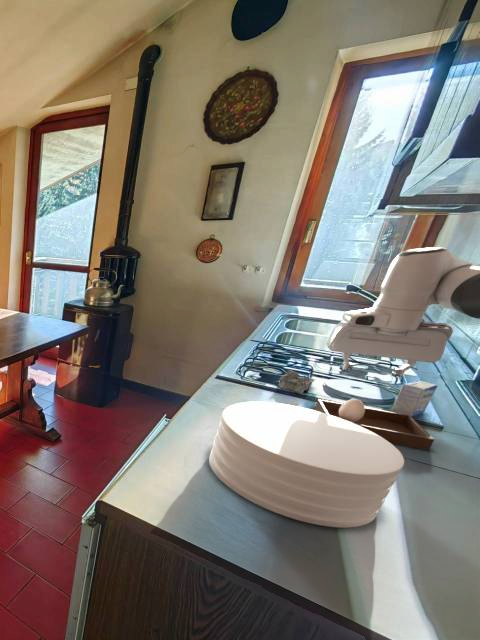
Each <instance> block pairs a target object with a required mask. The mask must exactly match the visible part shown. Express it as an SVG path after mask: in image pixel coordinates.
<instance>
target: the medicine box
mask: <svg viewBox="0 0 480 640" xmlns="http://www.w3.org/2000/svg"><path fill="white" fill-rule="evenodd" d="M437 388H438V385H437V384H435V383H430V382H427V381H422V380H414V381H410V382H408V383H405V384H402V386H401V388H400V390H399V393H398V394H397V397H396V399H395V401H394V403H393V405H392V408H391V410H390V412H394V413H400V414H405V415H410V416H411V417H412V418H414V417H415V416H419V415H420V414H423V413H425V411H426V409H427V407H428V405H429V404H430V402H431V401H432V398H433V396H434V394H435V392H436V391H437Z"/></svg>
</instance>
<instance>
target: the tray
mask: <svg viewBox="0 0 480 640" xmlns="http://www.w3.org/2000/svg"><path fill="white" fill-rule="evenodd" d="M315 403H316V404H315V406H314V408H313V410H315V411H319V412H322V413H326V414H329V415H332V416H335V417H338V418H340V416H339V409H340V407H341V405H342V404H343V403H341V402H336V401H332V400H331V401H330V400H326V399H325V400H324V399H320V398H319V399H317V401H316V402H315ZM353 423H354V424H356V425H359V426H361V427H363V428H365V429H367V430H369V431H371V432H373V433H375V434H377V435H379V436H380V437H382V438H384V439H385V440H387V441H388V442H390V443H391V444H396V445H400V446H406V447H410V448H415V449H421V450H426V451H429V450H430V449H431V447H432V445H433V443H434V441H435V438H434V437H432V435H431V434H430V433H429V432H428V431H427V430H426V429H425V428H424V427H423V426H422V425H421V424H420V423H419V422H417V420H416V419H415V418H414V417H411V416H410V415H405V414H400V413H395V412H392V411H387V410H383V409H376V408H371V407H365V413H364V416H363V417H362V418H361V419H360V420H359V421H356V422H353Z"/></svg>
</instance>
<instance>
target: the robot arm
mask: <svg viewBox="0 0 480 640" xmlns="http://www.w3.org/2000/svg"><path fill="white" fill-rule="evenodd" d="M431 305H435V306H438V307H443V308H445V309H448V310H452V311H456V312H459V313H461V314H463V315H465V316H468V317H471V318H474V319H478V320H480V265H479V264H474V263H472V262H469V261H466V260H464V259H461V258H460V257H457V256H456V255H454V254H453V253H451V251H449V249H448V248H445V247H439V246H438V247H437V246H436V247H435V246H432V247H419V248H418V247H417V248H411V249H406V250H404V251H401V252H400V253H398V254H397V255H396V257H395V258H394V259H393V260H392V262H391V263H390V266H389V267H388V269H387V271H386V273H385V275H384V278H383V280H382V282H381V284H380V293H379V295H378V297H377V298H376V300H375V301H374V302H373V304H372V307H369V308H364V309H357V310H356V309H355V310H349V311H345V312H344V313H343V315H342V320H343V321H340V322H338V323H337V324H336V325H335V326H334V328H333V329H332V331H331V333H330V334H329V337H328V339H327V342H326V347H327V348H328V350H330V351H331V352H336V353H341V357H342V358H341V359H342V360H343V364H342V366H341V368H342V370H345V371H352V370H353V367H354V363H353V362H351V361H350V360H349V358H352V355H354V354H355V355H362V356H370V357H378V358H385V359H386V358H387V359H395V360H403V362H404V363H403V364H402V365H401V366H399V367H394V368H393V370H392V372H391V375H392V376H393V377H396V378H402V377H403V376H404V374H405V372H406V371H408V370H410V369H412V368H413V367H415V365H416V364H417V362H420V363H421V362H422V363H428V364H429V363H431V364H434V363H437V362H439V361H441V359H442V357H443V355H444V352H445V349H446V345H447V341H449V340H450V339H451V337H452V335H453V333H454V329H453V327H452V326H450V325H448V324H447V323H445V322H433V321H424V320H423V318H424V317H425V314H426V313H427V310H428V308H429V307H430V306H431Z"/></svg>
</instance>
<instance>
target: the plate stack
mask: <svg viewBox="0 0 480 640" xmlns="http://www.w3.org/2000/svg"><path fill="white" fill-rule="evenodd" d="M214 436H215V437H214V440H213V443H212V447H211V451H210V453H209V457H208V462H209V466H210V468H211V470H212V472H213V473H214V475H215V476H216V477H217V478H218V479H219V480H220V481H221V482H222V483H223V484H224V485H225V486H227V488H229V489H230V490H232V491H233V492H235V493H236V494H238V495H239V496H241V497H242V498H244V499H246V500H247V501H249V502H252V503H253V504H255V505H257V506H259V507H261V508H263V509H266V510H268V511H270V512H273V513H275V514H277V515H278V514H279V515H281V516H283V517H287V518H290V519H293V520H296V521H299V522H303V523H307V524H311V525H316V526H321V527H328V528H329V527H330V528H340V529H341V528H344V529H345V528H348V529H349V528H358V527H363V526H366V525H368V524H370V523H371V522H373V521H374V520H375V519H376V518H377V515H378V514H379V512H380V510H381V508H382V506H383V504H384V503H385V502H386V501H385V500H386V498H387V497H388V495H389V493H390V491H391V489H392V488H393V487H392V486H393V485H394V484H395V482H396V480H397V479H398V476H399V474H400V473H401V471H402V470H403V467H404V466H405V458H404V456H403V454H402V453H401V451H400V450H399V449H398V448H397V447H396V446H394V445H393V443H390V442H388V441H387V440H385V439H384V438H382V437H380V436H379V435H377V434H375V433H373V432H371V431H369V430H367V429H365V428H363V427H361V426H359V425H356V424H354V423H352V422H349V421H346V420H344V419H341V418H338V417H335V416H332V415H329V414H326V413H322V412H319V411H315V409H311V408H307V407H302V406H298V405H292V404H286V403H279V402H271V401H270V402H269V401H243V402H237V403H233V404H231V405H229V406H226V407H225V408H224V409H223V411H222V413H221V416H220V421H219V423H218V426H217V431H216V433H215V435H214Z"/></svg>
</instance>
